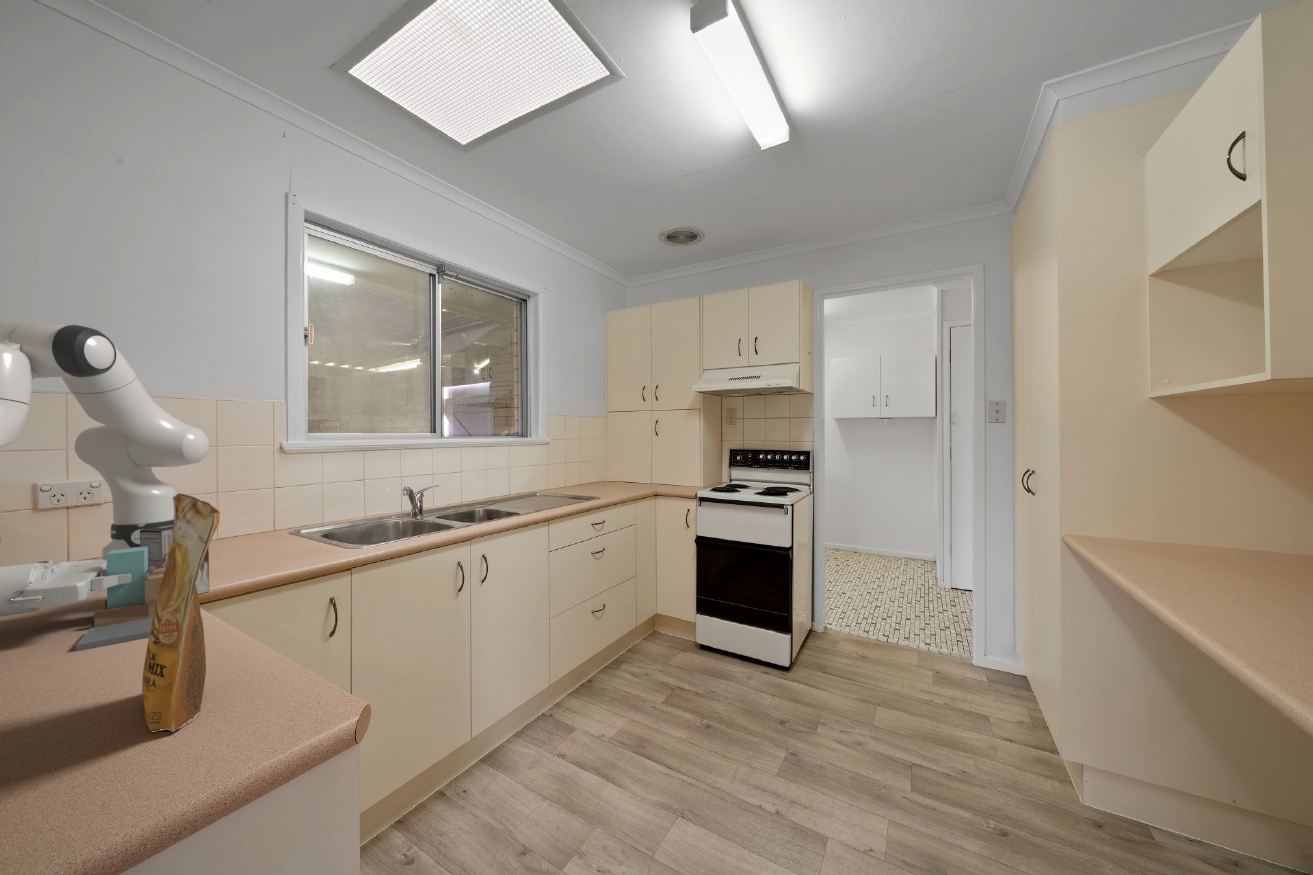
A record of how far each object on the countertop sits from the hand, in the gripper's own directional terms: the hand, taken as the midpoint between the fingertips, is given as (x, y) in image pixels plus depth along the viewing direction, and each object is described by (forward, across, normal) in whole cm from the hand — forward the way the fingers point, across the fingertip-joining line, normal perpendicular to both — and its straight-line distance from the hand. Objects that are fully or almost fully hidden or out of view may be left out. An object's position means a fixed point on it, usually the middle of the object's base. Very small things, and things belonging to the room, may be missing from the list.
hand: (134, 574), depth 96 cm
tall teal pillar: (-1, 0, +7) cm, 7 cm away
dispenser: (+1, 0, +8) cm, 8 cm away
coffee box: (+5, +10, +9) cm, 14 cm away
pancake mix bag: (+11, -51, +8) cm, 52 cm away
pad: (0, -12, +8) cm, 15 cm away
